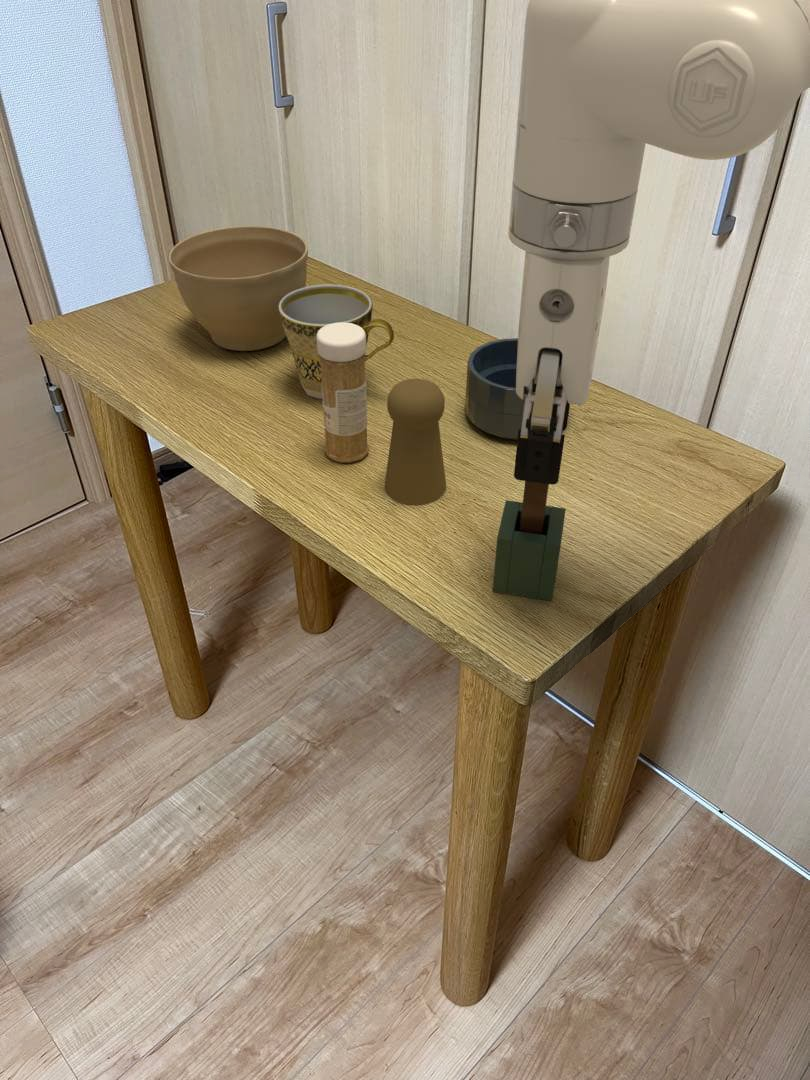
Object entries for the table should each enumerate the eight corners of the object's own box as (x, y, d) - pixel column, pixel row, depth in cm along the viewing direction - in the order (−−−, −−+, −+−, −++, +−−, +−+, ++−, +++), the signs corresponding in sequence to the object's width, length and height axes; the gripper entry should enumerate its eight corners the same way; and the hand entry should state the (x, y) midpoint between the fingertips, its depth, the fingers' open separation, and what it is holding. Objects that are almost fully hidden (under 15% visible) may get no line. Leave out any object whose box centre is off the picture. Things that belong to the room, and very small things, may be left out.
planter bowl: (324, 309, 112) (318, 226, 105) (300, 369, 99) (291, 281, 92) (205, 303, 113) (192, 221, 106) (167, 362, 101) (148, 274, 94)
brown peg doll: (374, 476, 84) (371, 378, 76) (429, 461, 85) (431, 364, 78) (399, 511, 79) (399, 411, 72) (457, 494, 81) (462, 395, 74)
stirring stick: (537, 571, 73) (562, 389, 61) (534, 585, 72) (559, 401, 60) (516, 568, 73) (537, 386, 62) (513, 582, 72) (534, 398, 60)
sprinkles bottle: (321, 443, 88) (312, 323, 79) (364, 436, 89) (360, 317, 80) (329, 468, 85) (320, 346, 76) (374, 461, 85) (370, 340, 77)
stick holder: (557, 561, 74) (565, 508, 70) (551, 601, 70) (560, 547, 66) (500, 553, 75) (505, 499, 71) (492, 591, 71) (497, 537, 67)
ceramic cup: (270, 396, 95) (260, 313, 88) (314, 357, 102) (308, 277, 95) (374, 423, 91) (371, 338, 84) (412, 380, 98) (413, 298, 91)
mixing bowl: (571, 396, 95) (579, 344, 91) (562, 451, 87) (570, 396, 83) (474, 385, 97) (477, 333, 93) (457, 438, 89) (459, 383, 84)
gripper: (628, 276, 45) (583, 531, 57) (635, 174, 58) (597, 399, 70) (489, 263, 47) (473, 516, 58) (527, 166, 60) (507, 389, 71)
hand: (541, 450), depth 64 cm, fingers open, 6 cm apart
